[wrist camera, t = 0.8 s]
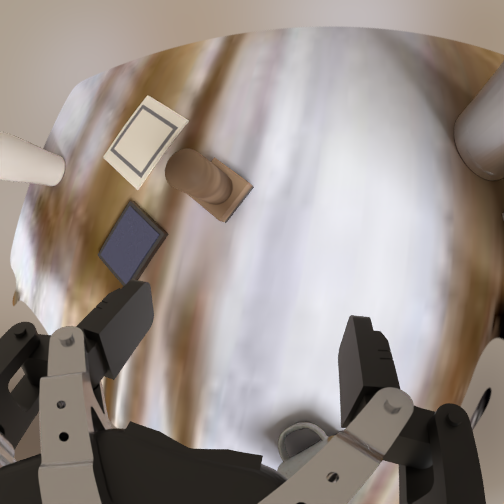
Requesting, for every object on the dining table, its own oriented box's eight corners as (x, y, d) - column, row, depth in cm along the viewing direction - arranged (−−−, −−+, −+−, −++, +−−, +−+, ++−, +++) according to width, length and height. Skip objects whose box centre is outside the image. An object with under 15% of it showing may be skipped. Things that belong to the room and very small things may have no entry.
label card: (148, 96, 36) (147, 95, 36) (188, 121, 35) (187, 119, 34) (104, 157, 38) (102, 157, 38) (138, 190, 36) (136, 189, 36)
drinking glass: (55, 198, 41) (-17, 185, 26) (42, 178, 42) (-24, 163, 28) (74, 163, 40) (1, 140, 25) (59, 146, 41) (-6, 122, 27)
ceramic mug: (368, 452, 28) (372, 490, 21) (319, 483, 30) (313, 521, 22) (313, 404, 31) (307, 439, 23) (264, 439, 32) (248, 475, 24)
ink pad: (134, 201, 36) (129, 200, 35) (168, 234, 35) (164, 233, 34) (101, 255, 38) (96, 255, 37) (131, 289, 36) (126, 290, 35)
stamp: (221, 163, 34) (182, 131, 24) (253, 187, 32) (223, 159, 23) (195, 197, 34) (148, 177, 25) (226, 222, 33) (185, 210, 24)
